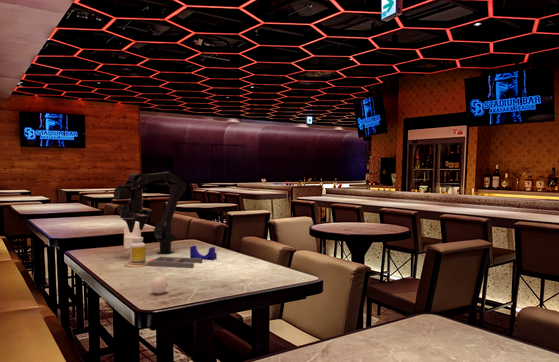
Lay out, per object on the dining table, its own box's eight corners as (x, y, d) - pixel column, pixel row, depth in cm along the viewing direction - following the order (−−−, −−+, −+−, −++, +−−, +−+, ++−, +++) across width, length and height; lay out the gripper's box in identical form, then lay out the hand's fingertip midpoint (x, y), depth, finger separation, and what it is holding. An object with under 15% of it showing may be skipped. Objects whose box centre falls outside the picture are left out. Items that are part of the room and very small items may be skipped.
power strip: (160, 260, 188) (160, 255, 188) (202, 262, 185) (202, 257, 185) (147, 265, 177) (147, 260, 177) (192, 267, 173) (192, 262, 173)
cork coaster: (132, 261, 186) (132, 260, 186) (154, 262, 184) (154, 261, 184) (119, 266, 175) (119, 265, 175) (142, 267, 173) (142, 266, 173)
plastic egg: (167, 295, 133) (167, 278, 133) (150, 296, 132) (150, 279, 132) (167, 288, 141) (167, 273, 140) (150, 290, 139) (150, 274, 139)
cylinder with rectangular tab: (120, 248, 220) (120, 226, 220) (129, 245, 229) (129, 224, 229) (135, 248, 219) (135, 227, 219) (143, 246, 228) (143, 225, 228)
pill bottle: (146, 264, 178) (146, 238, 178) (130, 265, 175) (130, 239, 175) (144, 261, 184) (144, 236, 184) (129, 262, 181) (129, 237, 181)
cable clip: (216, 259, 194) (216, 246, 193) (212, 260, 189) (212, 248, 189) (195, 257, 198) (195, 245, 197) (190, 258, 193) (190, 246, 193)
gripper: (131, 198, 204) (131, 228, 204) (109, 200, 186) (109, 233, 186) (151, 198, 202) (151, 229, 202) (131, 200, 184) (131, 234, 184)
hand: (136, 231), depth 194 cm, fingers open, 9 cm apart
